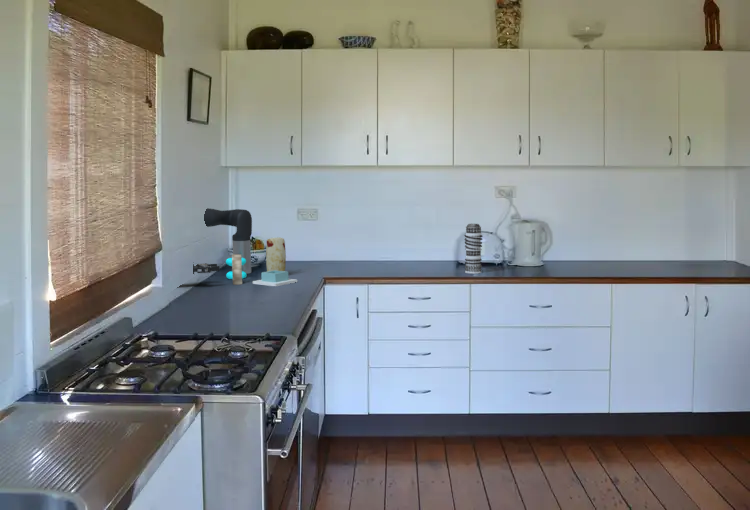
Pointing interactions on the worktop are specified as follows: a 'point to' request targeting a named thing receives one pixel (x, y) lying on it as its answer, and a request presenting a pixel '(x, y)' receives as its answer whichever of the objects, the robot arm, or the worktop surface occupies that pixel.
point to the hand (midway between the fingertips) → (218, 267)
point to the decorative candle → (473, 248)
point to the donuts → (229, 274)
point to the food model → (275, 254)
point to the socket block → (274, 278)
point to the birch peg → (237, 269)
